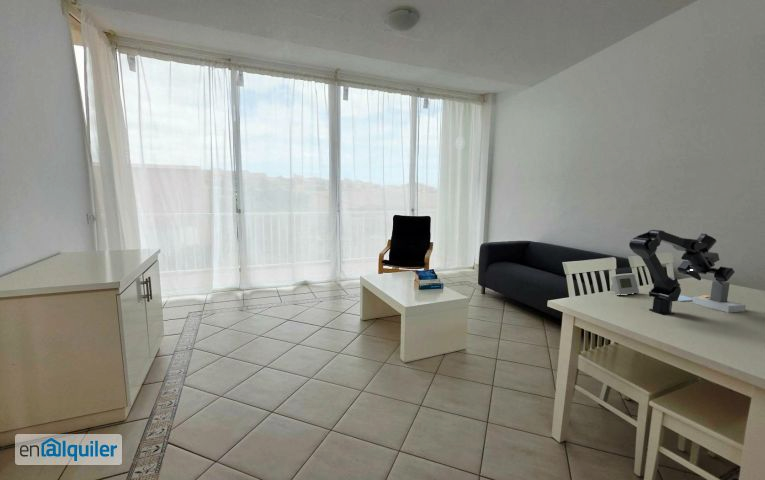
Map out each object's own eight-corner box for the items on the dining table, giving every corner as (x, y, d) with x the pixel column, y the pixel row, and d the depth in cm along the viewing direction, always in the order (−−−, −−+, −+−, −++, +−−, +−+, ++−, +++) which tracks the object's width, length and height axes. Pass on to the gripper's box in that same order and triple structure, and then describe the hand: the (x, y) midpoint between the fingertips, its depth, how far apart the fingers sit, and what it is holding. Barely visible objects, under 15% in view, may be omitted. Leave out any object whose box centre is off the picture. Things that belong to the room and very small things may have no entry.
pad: (680, 301, 159) (681, 300, 159) (659, 295, 168) (660, 294, 168) (696, 300, 161) (697, 299, 160) (675, 294, 170) (675, 293, 170)
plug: (719, 308, 149) (723, 279, 147) (709, 305, 153) (713, 276, 151) (726, 307, 150) (730, 278, 148) (715, 305, 154) (719, 276, 152)
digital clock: (617, 296, 167) (618, 276, 165) (603, 291, 175) (604, 272, 174) (644, 295, 169) (646, 276, 167) (629, 291, 177) (631, 272, 176)
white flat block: (727, 312, 143) (729, 304, 143) (692, 302, 157) (693, 295, 157) (744, 311, 145) (746, 303, 145) (708, 301, 159) (709, 294, 159)
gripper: (734, 249, 136) (749, 273, 140) (684, 244, 154) (698, 265, 158) (718, 268, 135) (734, 292, 139) (670, 260, 153) (684, 282, 157)
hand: (712, 282), depth 148 cm, fingers open, 9 cm apart
